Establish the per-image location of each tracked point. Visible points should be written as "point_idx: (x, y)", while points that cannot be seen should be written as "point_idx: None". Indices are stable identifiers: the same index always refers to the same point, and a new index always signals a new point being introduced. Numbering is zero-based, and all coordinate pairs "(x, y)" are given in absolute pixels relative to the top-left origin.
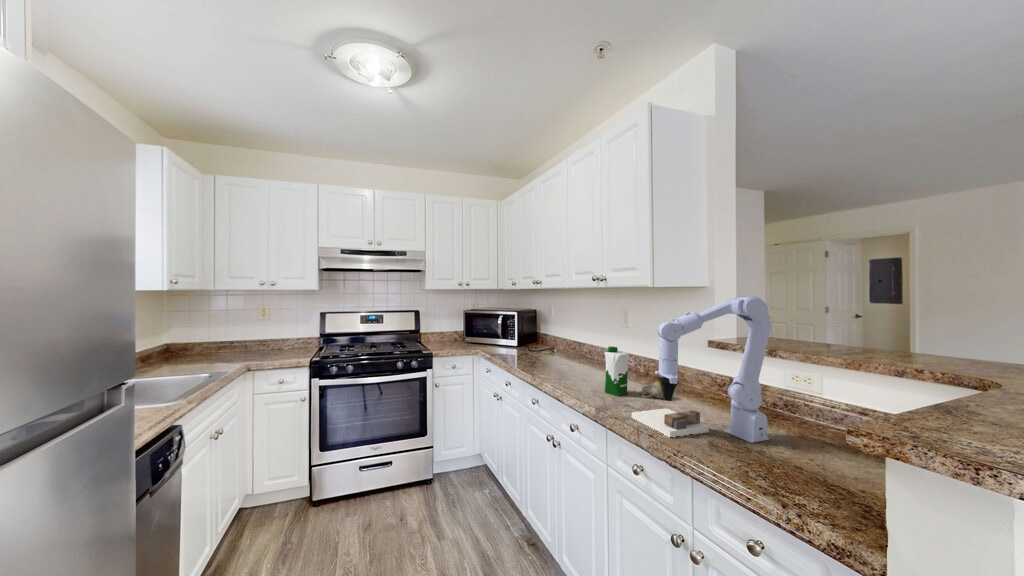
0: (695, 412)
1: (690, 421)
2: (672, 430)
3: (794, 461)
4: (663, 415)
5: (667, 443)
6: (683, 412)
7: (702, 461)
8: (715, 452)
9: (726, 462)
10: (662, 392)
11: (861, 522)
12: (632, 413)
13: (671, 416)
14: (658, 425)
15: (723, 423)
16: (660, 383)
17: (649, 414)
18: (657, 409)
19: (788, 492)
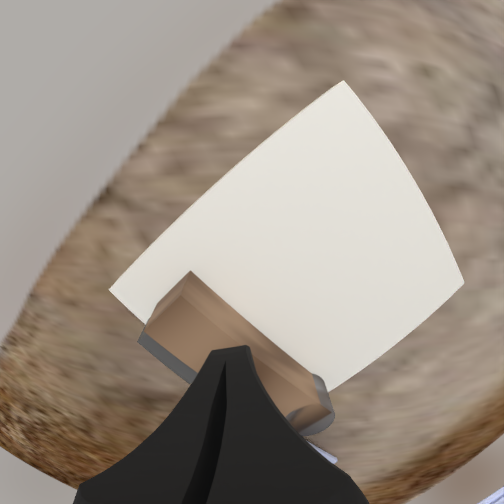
0: (308, 424)
1: None
2: (128, 301)
3: None
4: (359, 266)
5: (63, 264)
6: (285, 387)
7: (17, 345)
8: (93, 391)
9: (53, 394)
10: (244, 380)
11: (20, 455)
12: (336, 85)
13: (167, 330)
14: (164, 237)
15: (377, 429)
16: (255, 455)
17: (349, 187)
18: (444, 237)
19: (23, 431)
